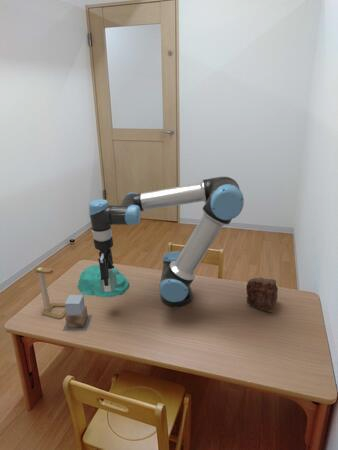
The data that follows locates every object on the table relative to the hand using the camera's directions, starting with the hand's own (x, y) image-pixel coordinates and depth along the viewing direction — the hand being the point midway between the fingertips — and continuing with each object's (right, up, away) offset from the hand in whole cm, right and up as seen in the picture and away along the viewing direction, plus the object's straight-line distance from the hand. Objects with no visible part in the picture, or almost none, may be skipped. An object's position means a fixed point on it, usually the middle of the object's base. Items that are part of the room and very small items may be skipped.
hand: (109, 286), depth 143 cm
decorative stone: (-8, -5, +26) cm, 28 cm away
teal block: (0, -1, 0) cm, 1 cm away
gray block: (-14, -10, -3) cm, 17 cm away
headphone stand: (-25, -13, +7) cm, 29 cm away
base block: (-13, -15, -1) cm, 20 cm away
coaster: (-13, -16, 0) cm, 21 cm away
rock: (+67, -11, +7) cm, 68 cm away
